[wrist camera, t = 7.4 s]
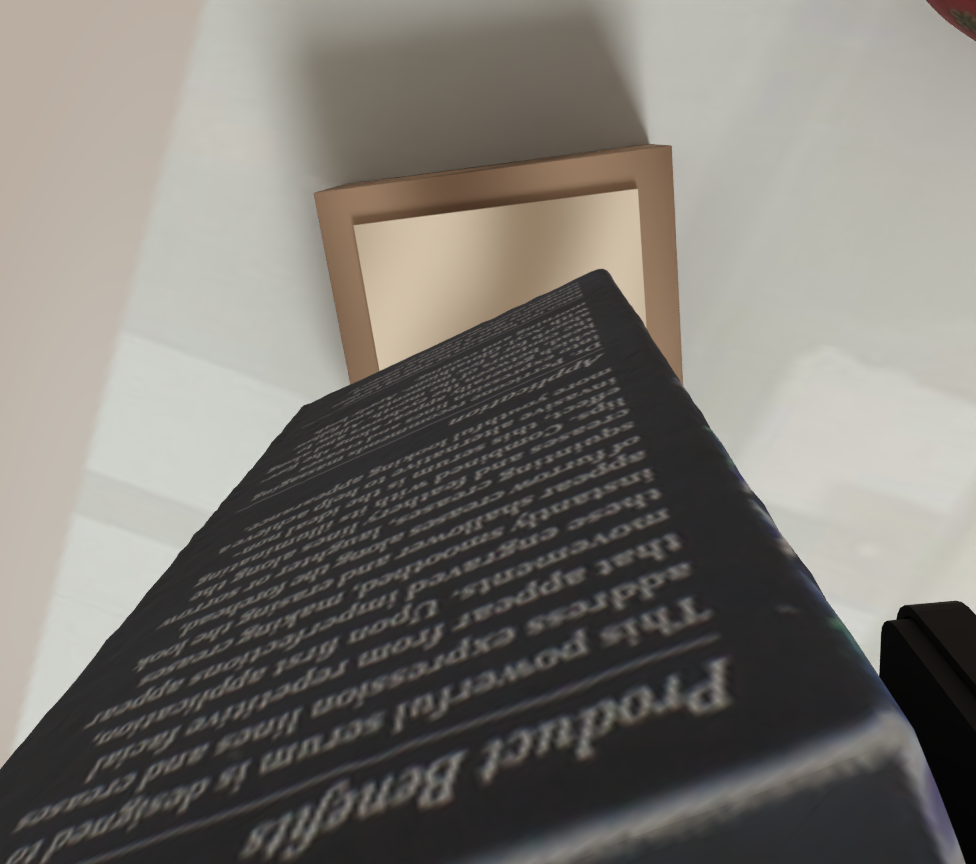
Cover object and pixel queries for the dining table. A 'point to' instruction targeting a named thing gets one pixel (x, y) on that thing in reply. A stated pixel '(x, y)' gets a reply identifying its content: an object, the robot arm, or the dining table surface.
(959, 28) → the decorative planter
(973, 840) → the robot arm
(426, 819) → the box
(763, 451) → the dining table surface
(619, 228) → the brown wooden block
